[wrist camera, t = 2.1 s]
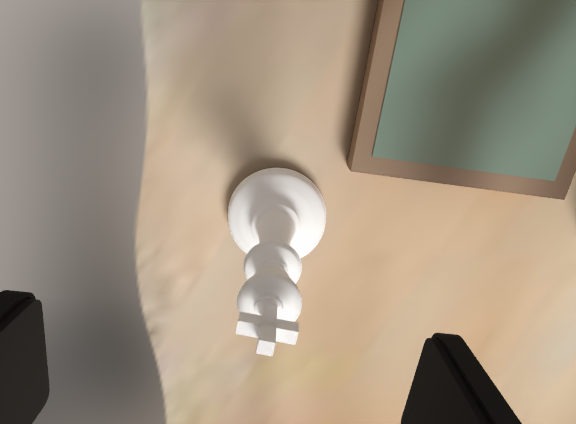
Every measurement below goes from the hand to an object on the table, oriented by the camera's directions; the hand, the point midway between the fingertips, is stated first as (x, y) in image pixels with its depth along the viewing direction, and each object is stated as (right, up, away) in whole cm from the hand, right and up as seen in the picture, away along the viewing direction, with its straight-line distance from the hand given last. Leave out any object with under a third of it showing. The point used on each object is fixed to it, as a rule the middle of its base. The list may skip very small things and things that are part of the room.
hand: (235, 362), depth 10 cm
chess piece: (+1, +4, +10) cm, 11 cm away
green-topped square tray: (+10, +10, +8) cm, 16 cm away
